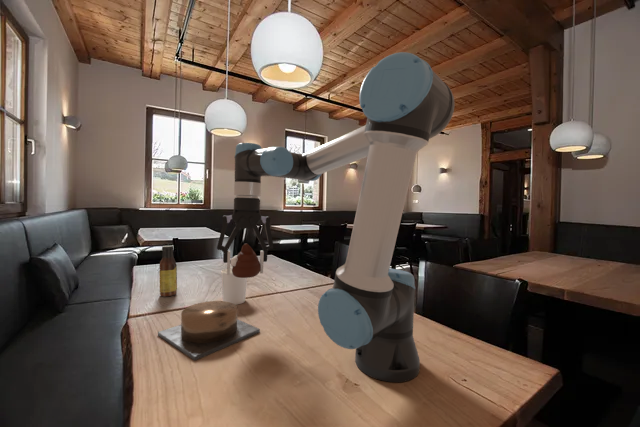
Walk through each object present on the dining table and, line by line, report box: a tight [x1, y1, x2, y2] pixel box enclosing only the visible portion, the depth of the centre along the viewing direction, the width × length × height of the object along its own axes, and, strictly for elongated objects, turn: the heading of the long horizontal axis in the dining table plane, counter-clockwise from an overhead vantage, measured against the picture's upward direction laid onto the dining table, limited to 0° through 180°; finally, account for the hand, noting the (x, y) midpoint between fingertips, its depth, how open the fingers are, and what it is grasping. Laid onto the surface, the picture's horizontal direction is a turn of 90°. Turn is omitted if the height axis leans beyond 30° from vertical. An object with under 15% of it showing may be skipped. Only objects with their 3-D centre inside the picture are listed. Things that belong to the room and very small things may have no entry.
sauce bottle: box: [158, 245, 178, 298], centre depth 115 cm, size 7×6×20 cm
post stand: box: [157, 300, 261, 361], centre depth 82 cm, size 20×20×7 cm
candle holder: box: [220, 267, 248, 306], centre depth 109 cm, size 10×10×12 cm
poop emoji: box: [230, 243, 261, 279], centre depth 84 cm, size 10×8×9 cm
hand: (245, 272), depth 84 cm, fingers closed on poop emoji, 9 cm apart
